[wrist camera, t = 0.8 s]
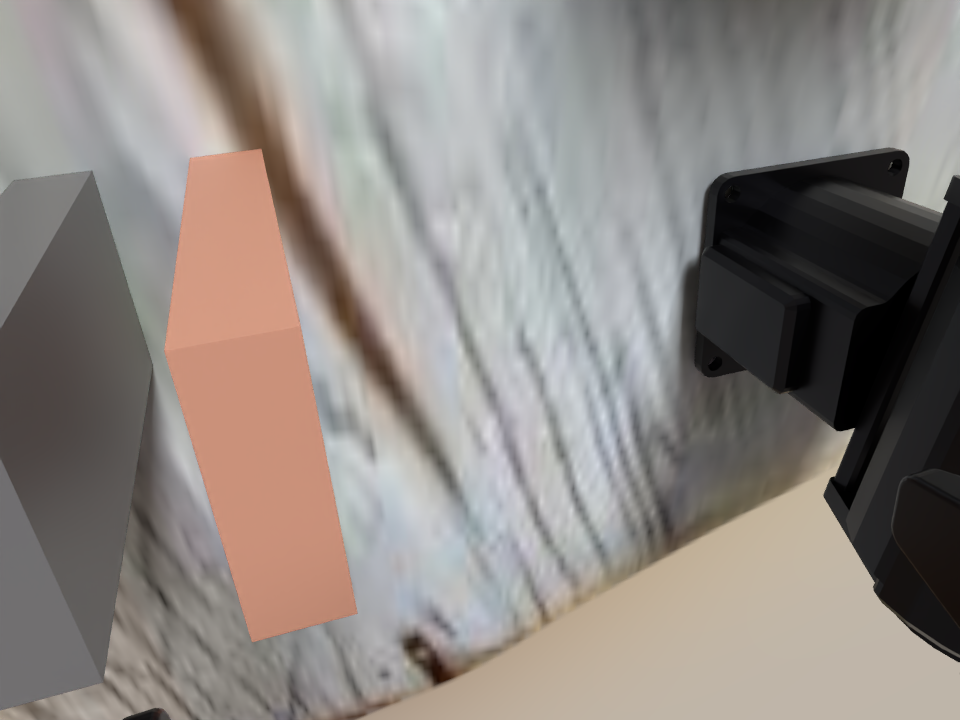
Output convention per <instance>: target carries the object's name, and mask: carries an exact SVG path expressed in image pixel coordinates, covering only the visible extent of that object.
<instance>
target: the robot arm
mask: <svg viewBox="0 0 960 720" xmlns="http://www.w3.org/2000/svg"><path fill="white" fill-rule="evenodd" d="M891 162H892V165H891V168H890V169H889V170H888V167H889V165H890V163H891ZM908 168H909V156H908V154H907V153H906V152H904V151H902V150H899V149H895V148H883V149H877V150H870V151H864V152H858V153H851V154H845V155H838V156H832V157H826V158H819V159H813V160H806V161H800V162H794V163H787V164H781V165H775V166H768V167H762V168H755V169H749V170H743V171H736V172H730V173H725V174H723V175H720V176H719V177H718V178H717V179H715V181H714V182H713V184H712V185H711V188H710V192H709V202H708V213H707V225H706V236H705V248H704V252H703V254H702V256H701V265H700V277H699V288H698V300H697V311H696V323H695V327H696V329H697V339H696V350H695V367H696V368H697V369H698V370H699V371H700V372H701V373H702V374H703V375H704V376H707V377H717V376H722V375H726V374H731V373H735V372H739V371H744V370H748V371H749V372H750V373H752V374H753V375H754V376H755V377H757V378H758V379H759V380H761V381H762V382H763V383H764V384H766V385H767V386H768V387H769V388H771V389H772V390H773V391H774V392H776V393H778V394H783V393H788V394H790V395H791V396H792V397H794V398H795V399H796V400H797V401H799V402H800V403H801V404H803V405H804V406H805V407H807V408H808V409H809V410H810V411H812V412H813V413H814V414H816V415H817V416H818V417H819V418H821V419H822V420H823V421H825V422H826V423H827V424H828V425H830V426H831V427H832V428H834V429H835V430H836V431H844V430H848V429H852V428H855V429H854V432H853V434H852V437H851V439H850V442H849V444H848V446H847V449H846V451H845V454H844V456H843V459H842V461H841V464H840V466H839V468H838V471H837V473H836V476H835V477H831V478H830V480H829V483H828V485H827V487H826V490H825V492H824V498H825V500H826V502H827V503H828V505H829V507H830V508H831V510H832V512H833V513H834V515H835V517H836V518H837V520H838V522H839V523H840V525H841V527H842V528H843V530H844V532H845V533H846V535H847V537H848V538H849V540H850V542H851V543H852V545H853V547H854V548H855V550H856V552H857V553H858V555H859V557H860V558H861V560H862V562H863V564H864V565H865V567H866V569H867V570H868V572H869V574H870V575H871V577H872V579H873V580H874V582H875V584H874V586H873V588H874V592H875V593H876V595H877V596H878V598H879V599H880V601H881V602H882V603H883V604H884V605H885V606H886V607H887V608H889V609H890V610H891V611H892V612H893V613H894V614H896V616H897V617H898V618H899V619H900V620H901V621H902V622H903V623H904V624H905V625H906V626H907V627H908V628H909V629H910V630H911V631H912V632H913V633H914V634H916V635H917V636H919V637H920V638H921V639H923V640H924V641H925V642H927V643H928V644H929V645H931V646H932V647H933V648H935V649H937V650H939V651H940V652H942V653H943V654H945V655H947V656H949V657H950V658H952V659H954V660H956V661H958V662H960V176H959V175H954V176H953V177H952V180H951V182H950V185H949V187H948V190H947V192H946V195H945V197H944V200H946V201H948V202H947V205H946V207H945V210H944V212H943V213H940V212H937V211H934V210H931V209H929V208H926V207H923V206H920V205H918V204H915V203H912V202H909V201H906V200H904V199H902V196H903V191H904V187H905V182H906V177H907V173H908ZM730 186H732V187H733V190H732V193H731V195H730V196H729V197H728V198H726V199H725V193H726V190H727V189H728V188H729V187H730ZM714 357H715V359H714V361H713V362H712V363H711V364H709V361H710V360H711V359H712V358H714ZM708 364H709V365H708ZM123 720H171V719H170V717H169V715H168V714H167V712H166V711H165V710H163V709H162V708H154V709H151V710H148V711H144V712H141V713H138V714H135V715H131V716H128V717H126V718H124V719H123Z"/></svg>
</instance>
